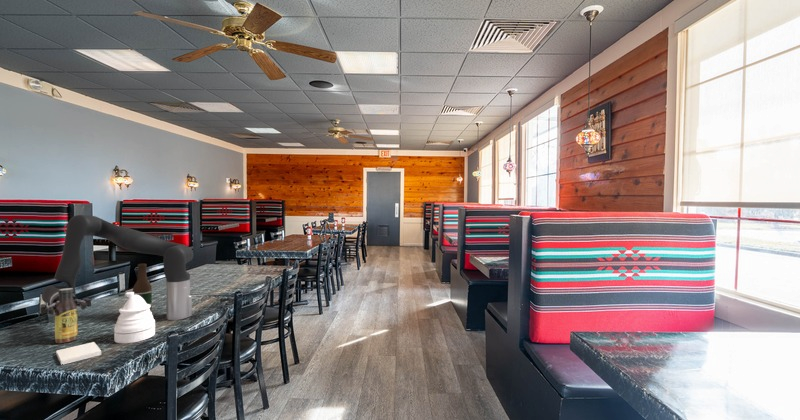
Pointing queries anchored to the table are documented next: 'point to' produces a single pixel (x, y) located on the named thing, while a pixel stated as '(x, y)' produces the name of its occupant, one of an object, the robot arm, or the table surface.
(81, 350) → the tile
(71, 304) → the sauce bottle
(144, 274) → the beer bottle
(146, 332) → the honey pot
